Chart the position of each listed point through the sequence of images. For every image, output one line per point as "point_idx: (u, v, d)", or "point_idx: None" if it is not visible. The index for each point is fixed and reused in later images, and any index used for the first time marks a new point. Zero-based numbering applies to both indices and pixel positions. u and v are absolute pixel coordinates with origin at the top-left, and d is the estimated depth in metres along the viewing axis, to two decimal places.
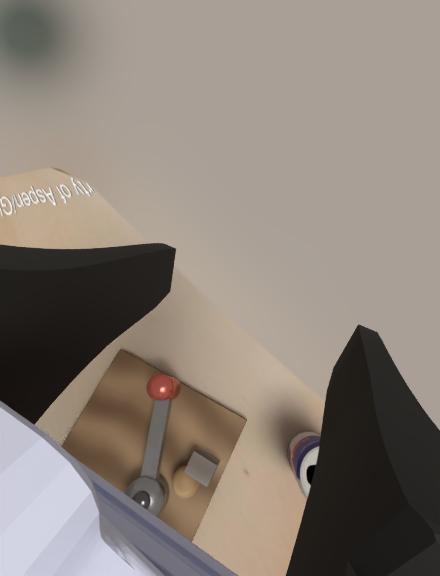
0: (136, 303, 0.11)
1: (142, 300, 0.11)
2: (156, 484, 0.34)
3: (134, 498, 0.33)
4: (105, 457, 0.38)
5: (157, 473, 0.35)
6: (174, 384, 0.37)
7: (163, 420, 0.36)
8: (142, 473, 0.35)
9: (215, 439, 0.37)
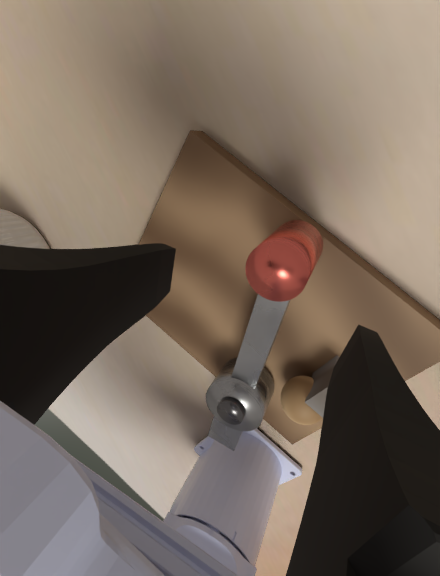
0: (136, 303, 0.11)
1: (142, 300, 0.11)
2: (256, 398, 0.21)
3: (221, 406, 0.21)
4: (180, 316, 0.25)
5: (258, 379, 0.21)
6: (314, 261, 0.15)
7: (277, 316, 0.18)
8: (234, 374, 0.21)
9: None
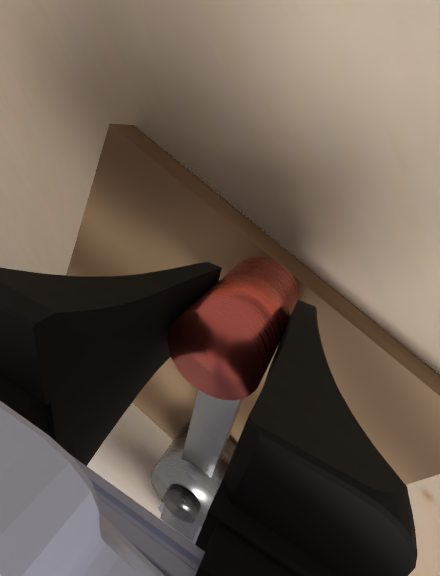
0: None
1: None
2: (212, 492, 0.15)
3: (168, 498, 0.16)
4: None
5: (217, 464, 0.15)
6: (279, 333, 0.09)
7: None
8: (185, 456, 0.16)
9: (373, 442, 0.13)
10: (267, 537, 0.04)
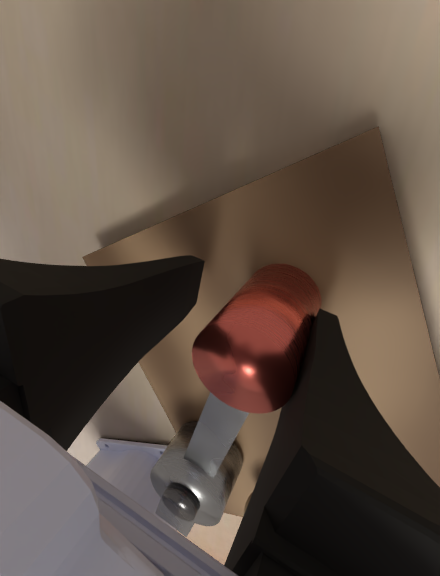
0: (166, 318, 0.10)
1: (171, 314, 0.11)
2: (213, 493, 0.15)
3: (167, 496, 0.16)
4: (163, 343, 0.17)
5: None
6: None
7: None
8: (187, 455, 0.16)
9: None
10: (317, 570, 0.04)
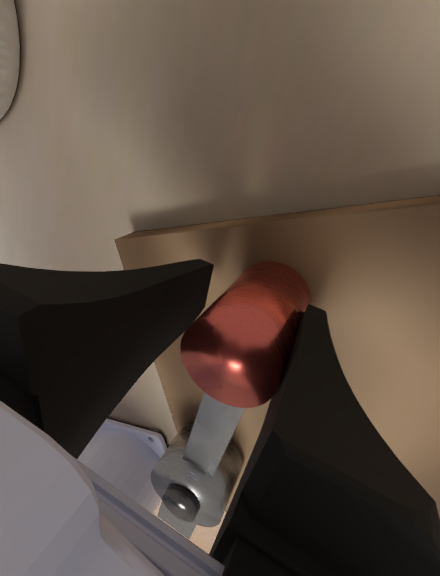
0: (176, 323, 0.10)
1: (181, 319, 0.11)
2: (213, 493, 0.15)
3: (167, 497, 0.16)
4: None
5: None
6: None
7: None
8: (186, 456, 0.16)
9: None
10: (290, 552, 0.04)
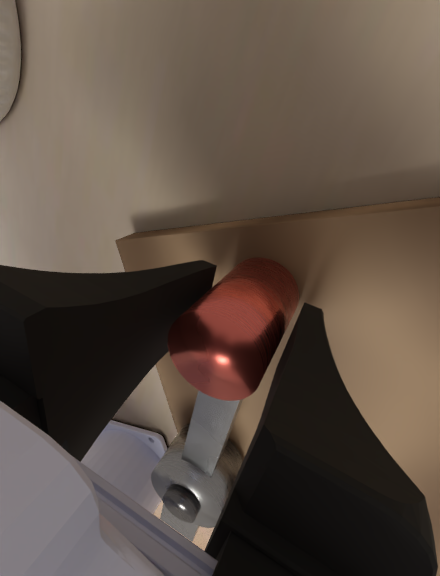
0: None
1: None
2: (212, 493, 0.15)
3: (167, 498, 0.16)
4: None
5: (217, 464, 0.15)
6: (279, 334, 0.09)
7: None
8: (184, 456, 0.16)
9: None
10: (281, 546, 0.04)
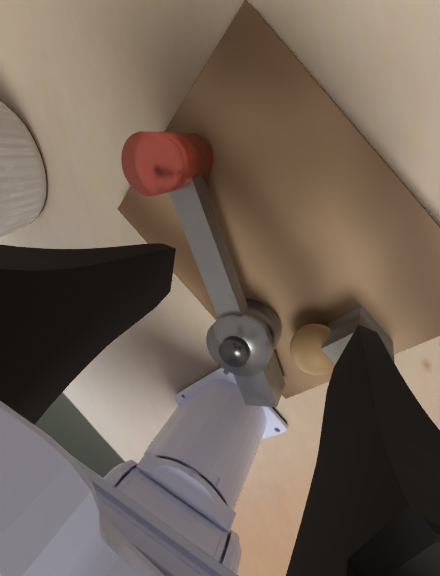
0: (136, 303, 0.11)
1: (142, 300, 0.11)
2: (245, 322, 0.19)
3: (221, 351, 0.20)
4: (188, 246, 0.22)
5: (241, 304, 0.19)
6: (180, 142, 0.16)
7: (203, 222, 0.18)
8: (218, 313, 0.20)
9: (402, 307, 0.17)
10: None
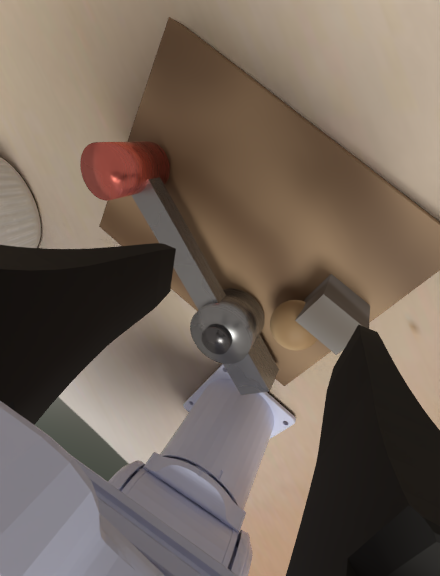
0: (136, 303, 0.11)
1: (142, 300, 0.11)
2: (221, 307, 0.19)
3: (204, 340, 0.20)
4: None
5: (216, 292, 0.20)
6: (131, 148, 0.17)
7: (166, 218, 0.19)
8: (197, 304, 0.21)
9: (370, 268, 0.17)
10: None
